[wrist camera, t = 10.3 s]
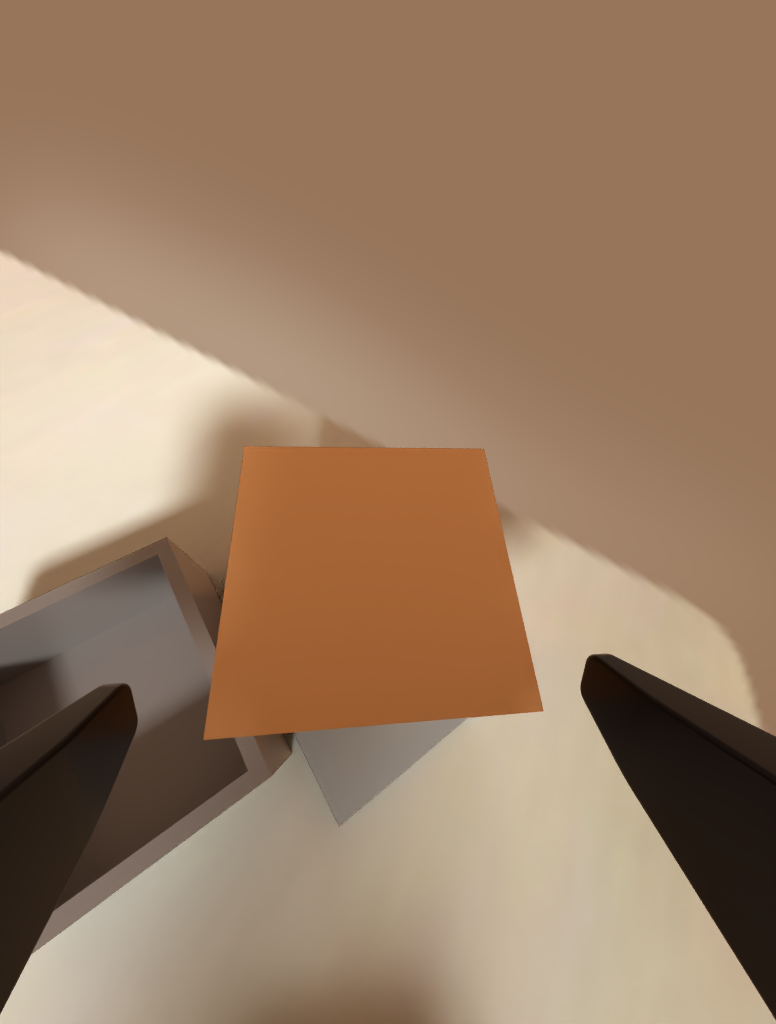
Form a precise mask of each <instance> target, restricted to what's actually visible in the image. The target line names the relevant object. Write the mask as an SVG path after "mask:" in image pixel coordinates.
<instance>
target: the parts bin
mask: <svg viewBox="0 0 776 1024" xmlns="http://www.w3.org/2000/svg"><path fill="white" fill-rule="evenodd" d="M221 610H222V603H221V601H220V599H219V596H218V594H217V592H216V590H215V588H214V586H213V584H212V581H211V579H210V577H209V575H208V573H207V572H206V571H205V570H204V569H203V568H201V567H200V566H199V565H198V564H197V563H196V562H195V561H193V560H192V559H191V558H190V557H189V556H188V555H187V554H185V553H184V552H183V551H182V550H181V549H180V548H178V547H177V546H176V545H175V544H174V543H173V542H172V541H170V540H169V539H168V538H167V537H166V538H164V539H162V540H160V541H158V542H155V543H153V544H151V545H149V546H147V547H145V548H142V549H140V550H138V551H136V552H134V553H132V554H129V555H127V556H125V557H123V558H121V559H119V560H116V561H114V562H112V563H110V564H108V565H106V566H103V567H101V568H99V569H97V570H95V571H93V572H90V573H88V574H86V575H84V576H82V577H80V578H77V579H75V580H73V581H71V582H69V583H67V584H64V585H62V586H60V587H58V588H56V589H54V590H51V591H49V592H47V593H45V594H43V595H41V596H38V597H36V598H34V599H32V600H30V601H28V602H25V603H23V604H21V605H19V606H17V607H15V608H12V609H10V610H8V611H6V612H4V613H2V614H0V748H1V747H3V746H5V745H6V744H8V743H9V742H11V741H12V740H14V739H16V738H17V737H19V736H20V735H22V734H24V733H25V732H27V731H28V730H30V729H32V728H33V727H35V726H36V725H38V724H40V723H41V722H43V721H44V720H46V719H48V718H49V717H51V716H52V715H54V714H56V713H57V712H59V711H60V710H62V709H63V708H65V707H67V706H68V705H70V704H71V703H73V702H75V701H76V700H78V699H79V698H81V697H83V696H84V695H86V694H87V693H89V692H91V691H92V690H94V689H95V688H97V687H99V686H101V685H105V684H117V683H125V684H128V685H129V686H130V687H131V690H132V695H133V699H134V703H135V707H136V712H137V716H138V725H137V729H136V733H135V735H134V738H133V740H132V742H131V745H130V747H129V750H128V752H127V755H126V757H125V759H124V762H123V764H122V767H121V769H120V771H119V774H118V776H117V779H116V781H115V783H114V786H113V788H112V791H111V793H110V795H109V798H108V800H107V803H106V805H105V808H104V810H103V812H102V815H101V817H100V819H99V821H98V824H97V826H96V828H95V831H94V833H93V835H92V837H91V839H90V841H89V843H88V845H87V847H86V849H85V851H84V853H83V855H82V857H81V859H80V861H79V863H78V865H77V866H76V868H75V870H74V872H73V874H72V876H71V878H70V880H69V882H68V884H67V886H66V888H65V890H64V892H63V894H62V896H61V897H60V899H59V901H58V903H57V905H56V907H55V909H54V911H53V913H52V915H51V917H50V919H49V921H48V923H47V925H46V927H45V928H44V930H43V932H42V934H41V936H40V938H39V940H38V942H37V944H36V946H35V948H34V950H33V952H32V953H34V952H35V951H36V950H38V949H39V948H40V947H42V946H43V945H45V944H46V943H47V942H49V941H50V940H51V939H53V938H54V937H55V936H57V935H58V934H59V933H61V932H62V931H63V930H65V929H66V928H67V927H69V926H70V925H71V924H73V923H74V922H76V921H77V920H78V919H80V918H81V917H82V916H84V915H85V914H86V913H88V912H89V911H90V910H92V909H93V908H94V907H96V906H97V905H98V904H100V903H101V902H102V901H104V900H105V899H107V898H108V897H109V896H111V895H112V894H113V893H115V892H116V891H117V890H119V889H120V888H121V887H123V886H124V885H125V884H127V883H128V882H129V881H131V880H132V879H133V878H135V877H136V876H138V875H139V874H140V873H142V872H143V871H144V870H146V869H147V868H148V867H150V866H151V865H152V864H154V863H155V862H156V861H158V860H159V859H160V858H162V857H163V856H164V855H166V854H167V853H169V852H170V851H171V850H173V849H174V848H175V847H177V846H178V845H179V844H181V843H182V842H183V841H185V840H186V839H187V838H189V837H190V836H191V835H193V834H194V833H195V832H197V831H198V830H200V829H201V828H202V827H204V826H205V825H206V824H208V823H209V822H210V821H212V820H213V819H214V818H216V817H217V816H218V815H220V814H221V813H222V812H224V811H225V810H226V809H228V808H229V807H230V806H232V805H233V804H235V803H236V802H237V801H239V800H240V799H241V798H243V797H244V796H245V795H247V794H248V793H249V792H251V791H252V790H253V789H255V788H256V787H257V786H259V785H260V784H261V783H263V782H264V781H266V780H267V779H268V778H270V777H271V776H272V775H273V774H274V773H275V772H276V770H277V769H278V768H279V767H280V766H281V765H282V764H283V763H284V762H285V761H286V760H287V758H288V757H289V756H290V755H291V754H292V753H291V751H290V749H289V747H288V745H287V743H286V740H285V738H284V736H283V734H282V733H280V734H269V735H257V736H245V737H233V738H222V739H210V740H203V739H204V732H205V725H206V717H207V710H208V703H209V696H210V689H211V682H212V675H213V668H214V660H215V653H216V646H217V639H218V632H219V625H220V618H221Z"/></svg>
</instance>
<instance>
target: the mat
mask: <svg viewBox="0 0 776 1024" xmlns="http://www.w3.org/2000/svg"><path fill="white" fill-rule="evenodd" d="M225 582H226V579H225V580H223V581H222V583H223V585H224V587H225ZM466 719H467V718H457V719H445V720H433V721H422V722H410V723H398V724H386V725H375V726H363V727H351V728H339V729H328V730H316V731H304V732H294V734H295V736H296V738H297V740H298V742H299V744H300V746H301V748H302V750H303V753H304V755H305V757H306V759H307V761H308V763H309V765H310V767H311V769H312V771H313V773H314V776H315V778H316V780H317V782H318V784H319V786H320V788H321V790H322V792H323V794H324V797H325V799H326V801H327V803H328V805H329V807H330V809H331V811H332V813H333V815H334V818H335V820H336V822H337V824H338V826H339V827H340V826H341V825H342V824H343V823H344V822H345V821H347V820H348V819H349V818H350V817H351V816H353V815H354V814H355V813H356V812H357V811H358V810H360V809H361V808H362V807H363V806H364V805H365V804H367V803H368V802H369V801H370V800H371V799H373V798H374V797H375V796H376V795H377V794H378V793H380V792H381V791H382V790H383V789H384V788H386V787H387V786H388V785H389V784H390V783H391V782H393V781H394V780H395V779H396V778H397V777H399V776H400V775H401V774H402V773H403V772H404V771H406V770H407V769H408V768H409V767H410V766H412V765H413V764H414V763H415V762H416V761H417V760H419V759H420V758H421V757H422V756H423V755H424V754H426V753H427V752H428V751H429V750H430V749H432V748H433V747H434V746H435V745H436V744H437V743H439V742H440V741H441V740H442V739H443V738H445V737H446V736H447V735H448V734H449V733H450V732H452V731H453V730H454V729H455V728H456V727H458V726H459V725H460V724H461V723H462V722H463V721H465V720H466Z"/></svg>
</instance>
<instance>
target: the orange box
mask: <svg viewBox="0 0 776 1024" xmlns="http://www.w3.org/2000/svg"><path fill="white" fill-rule="evenodd" d="M539 711H543V707H542V702H541V698H540V693H539V689H538V685H537V680H536V676H535V671H534V667H533V663H532V658H531V654H530V649H529V645H528V641H527V636H526V632H525V627H524V623H523V619H522V614H521V610H520V606H519V601H518V597H517V592H516V588H515V584H514V579H513V575H512V570H511V566H510V562H509V557H508V553H507V548H506V544H505V540H504V535H503V531H502V526H501V522H500V518H499V513H498V509H497V504H496V500H495V496H494V491H493V487H492V482H491V478H490V474H489V469H488V465H487V461H486V456H485V452H484V449H449V448H448V449H447V448H441V449H440V448H347V447H245V446H244V453H243V461H242V468H241V475H240V482H239V489H238V496H237V503H236V511H235V518H234V525H233V532H232V539H231V546H230V553H229V560H228V568H227V575H226V582H225V589H224V596H223V603H222V610H221V618H220V625H219V632H218V639H217V646H216V653H215V660H214V668H213V675H212V682H211V689H210V696H209V703H208V710H207V717H206V725H205V732H204V739H203V740H210V739H222V738H233V737H245V736H257V735H269V734H280V733H292V732H304V731H316V730H328V729H339V728H351V727H363V726H375V725H386V724H398V723H410V722H422V721H433V720H445V719H457V718H469V717H481V716H492V715H504V714H516V713H528V712H539Z"/></svg>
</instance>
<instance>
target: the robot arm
mask: <svg viewBox="0 0 776 1024" xmlns="http://www.w3.org/2000/svg"><path fill="white" fill-rule="evenodd" d="M581 694H582V697H583V699H584V701H585V703H586V705H587V707H588V709H589V711H590V713H591V715H592V717H593V719H594V721H595V723H596V725H597V726H598V728H599V730H600V732H601V734H602V736H603V738H604V740H605V742H606V744H607V746H608V748H609V750H610V751H611V753H612V755H613V757H614V759H615V761H616V763H617V765H618V767H619V768H620V770H621V772H622V774H623V776H624V777H625V779H626V781H627V782H628V784H629V786H630V787H631V789H632V791H633V792H634V794H635V796H636V797H637V799H638V800H639V802H640V804H641V805H642V807H643V808H644V810H645V812H646V813H647V815H648V816H649V818H650V820H651V821H652V823H653V824H654V826H655V828H656V829H657V831H658V832H659V834H660V836H661V837H662V839H663V840H664V842H665V844H666V845H667V847H668V848H669V850H670V852H671V853H672V855H673V856H674V858H675V860H676V861H677V863H678V864H679V866H680V868H681V869H682V871H683V872H684V874H685V876H686V877H687V879H688V880H689V882H690V884H691V885H692V887H693V888H694V890H695V892H696V893H697V895H698V896H699V898H700V900H701V901H702V903H703V904H704V906H705V908H706V909H707V911H708V912H709V914H710V916H711V917H712V919H713V920H714V922H715V924H716V925H717V927H718V928H719V930H720V932H721V933H722V935H723V936H724V938H725V940H726V941H727V943H728V944H729V946H730V948H731V949H732V951H733V952H734V954H735V956H736V957H737V959H738V960H739V962H740V964H741V965H742V967H743V968H744V970H745V972H746V973H747V975H748V976H749V978H750V980H751V981H752V983H753V984H754V986H755V988H756V989H757V991H758V992H759V994H760V996H761V997H762V999H763V1000H764V1002H765V1004H766V1005H767V1007H768V1008H769V1010H770V1012H771V1013H772V1015H773V1016H774V1018H775V1020H776V737H775V736H773V735H771V734H769V733H767V732H765V731H763V730H761V729H759V728H757V727H755V726H753V725H751V724H749V723H747V722H745V721H743V720H741V719H739V718H737V717H735V716H733V715H731V714H729V713H727V712H725V711H723V710H721V709H719V708H717V707H715V706H713V705H711V704H709V703H707V702H705V701H703V700H701V699H699V698H697V697H695V696H693V695H691V694H689V693H687V692H685V691H683V690H681V689H679V688H677V687H675V686H673V685H671V684H669V683H667V682H665V681H663V680H661V679H659V678H657V677H655V676H653V675H651V674H649V673H647V672H645V671H643V670H641V669H639V668H637V667H635V666H633V665H631V664H629V663H627V662H625V661H623V660H621V659H619V658H617V657H615V656H613V655H611V654H593V655H590V656H589V657H588V658H587V660H586V664H585V668H584V672H583V677H582V681H581ZM137 725H138V716H137V712H136V707H135V703H134V699H133V695H132V690H131V687H130V686H129V685H128V684H125V683H117V684H105V685H101V686H99V687H97V688H95V689H94V690H92V691H91V692H89V693H87V694H86V695H84V696H83V697H81V698H79V699H78V700H76V701H75V702H73V703H71V704H70V705H68V706H67V707H65V708H63V709H62V710H60V711H59V712H57V713H56V714H54V715H52V716H51V717H49V718H48V719H46V720H44V721H43V722H41V723H40V724H38V725H36V726H35V727H33V728H32V729H30V730H28V731H27V732H25V733H24V734H22V735H20V736H19V737H17V738H16V739H14V740H12V741H11V742H9V743H8V744H6V745H5V746H3V747H1V748H0V1014H1V1012H2V1010H3V1008H4V1006H5V1004H6V1002H7V1000H8V998H9V996H10V994H11V992H12V990H13V988H14V987H15V985H16V983H17V981H18V979H19V977H20V975H21V973H22V971H23V969H24V967H25V965H26V963H27V961H28V959H29V958H30V956H31V954H32V952H33V950H34V948H35V946H36V944H37V942H38V940H39V938H40V936H41V934H42V932H43V930H44V928H45V927H46V925H47V923H48V921H49V919H50V917H51V915H52V913H53V911H54V909H55V907H56V905H57V903H58V901H59V899H60V897H61V896H62V894H63V892H64V890H65V888H66V886H67V884H68V882H69V880H70V878H71V876H72V874H73V872H74V870H75V868H76V866H77V865H78V863H79V861H80V859H81V857H82V855H83V853H84V851H85V849H86V847H87V845H88V843H89V841H90V839H91V837H92V835H93V833H94V831H95V828H96V826H97V824H98V821H99V819H100V817H101V815H102V812H103V810H104V808H105V805H106V803H107V800H108V798H109V795H110V793H111V791H112V788H113V786H114V783H115V781H116V779H117V776H118V774H119V771H120V769H121V767H122V764H123V762H124V759H125V757H126V755H127V752H128V750H129V747H130V745H131V742H132V740H133V738H134V735H135V733H136V729H137Z"/></svg>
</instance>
